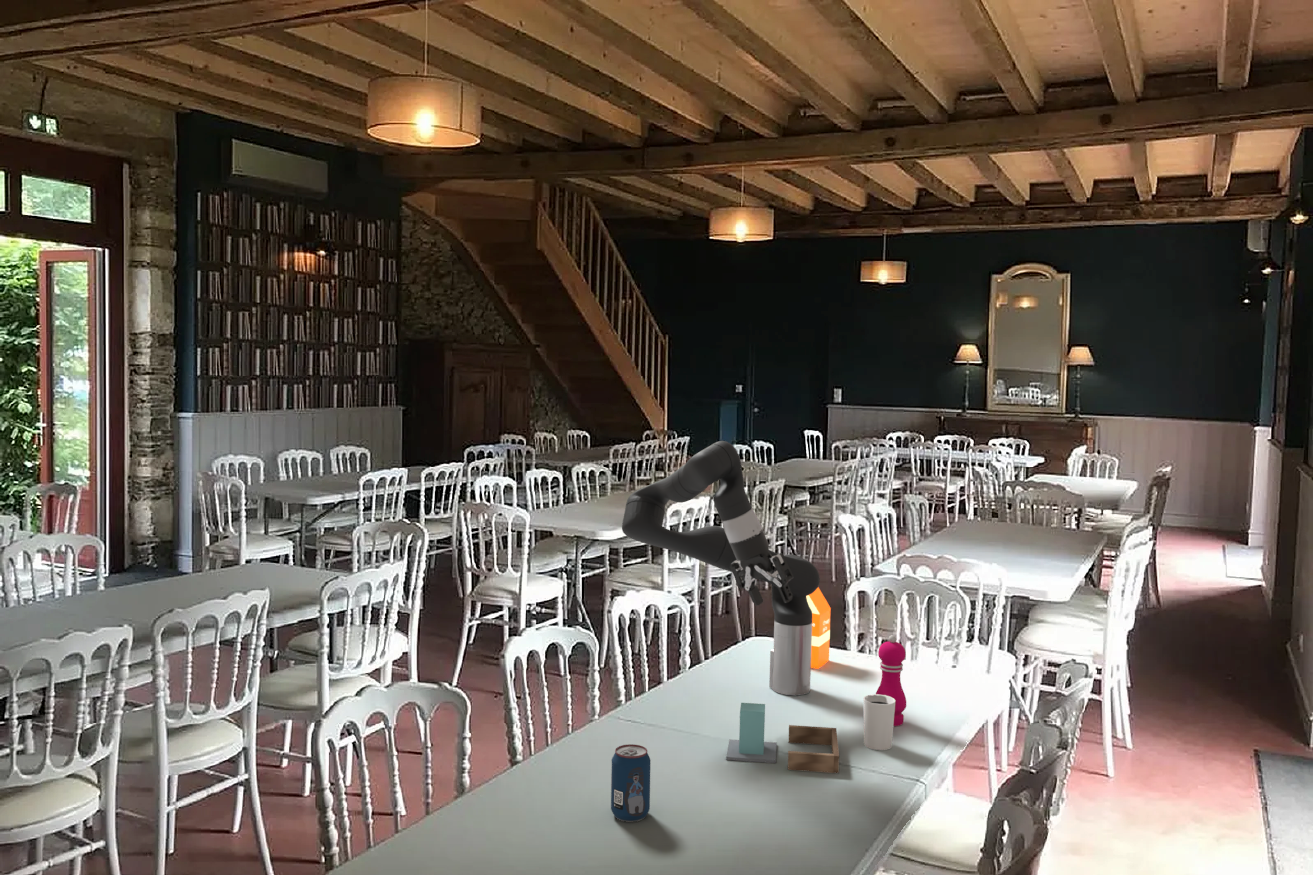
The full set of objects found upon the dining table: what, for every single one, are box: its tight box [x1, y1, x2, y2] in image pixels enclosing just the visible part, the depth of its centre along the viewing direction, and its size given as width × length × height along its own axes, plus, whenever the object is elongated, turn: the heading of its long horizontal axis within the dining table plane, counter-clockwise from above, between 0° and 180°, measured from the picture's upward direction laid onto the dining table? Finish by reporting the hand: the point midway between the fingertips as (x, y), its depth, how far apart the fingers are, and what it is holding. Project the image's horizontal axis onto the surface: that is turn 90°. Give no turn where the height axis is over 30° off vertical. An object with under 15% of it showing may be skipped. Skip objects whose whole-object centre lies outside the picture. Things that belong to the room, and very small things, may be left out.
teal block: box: [738, 702, 766, 755], centre depth 222 cm, size 5×5×9 cm
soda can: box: [610, 744, 651, 823], centre depth 191 cm, size 7×7×12 cm
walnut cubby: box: [787, 724, 840, 774], centre depth 221 cm, size 10×16×4 cm, turn 173°
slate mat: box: [725, 739, 777, 764], centre depth 223 cm, size 10×10×1 cm
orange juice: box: [806, 586, 832, 670], centre depth 287 cm, size 8×9×20 cm
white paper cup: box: [862, 693, 895, 751], centre depth 228 cm, size 7×7×10 cm
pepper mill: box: [875, 634, 907, 727], centre depth 242 cm, size 7×7×20 cm
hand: (774, 602), depth 227 cm, fingers open, 8 cm apart
